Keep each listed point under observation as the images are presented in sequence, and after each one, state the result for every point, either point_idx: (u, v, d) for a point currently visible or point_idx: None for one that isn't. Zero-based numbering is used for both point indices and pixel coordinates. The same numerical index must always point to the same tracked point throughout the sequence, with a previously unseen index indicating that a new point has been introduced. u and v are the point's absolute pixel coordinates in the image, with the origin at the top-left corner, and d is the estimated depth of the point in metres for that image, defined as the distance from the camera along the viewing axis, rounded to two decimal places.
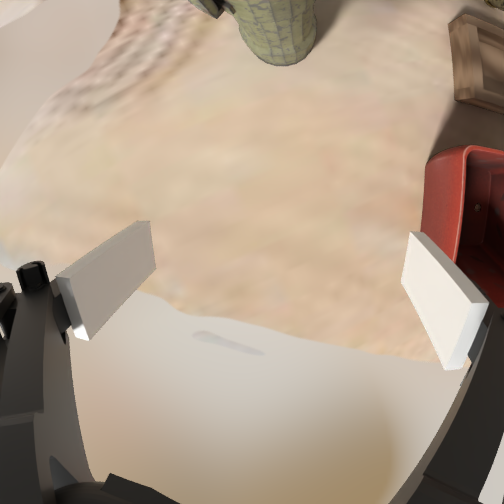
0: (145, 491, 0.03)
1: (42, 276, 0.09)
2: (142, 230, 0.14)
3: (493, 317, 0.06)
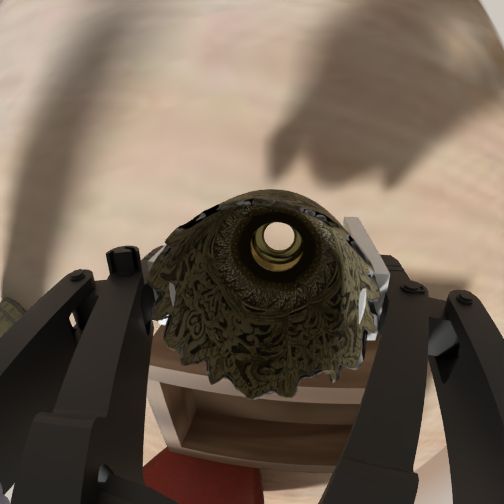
0: (145, 491, 0.03)
1: (135, 262, 0.10)
2: None
3: (392, 291, 0.08)
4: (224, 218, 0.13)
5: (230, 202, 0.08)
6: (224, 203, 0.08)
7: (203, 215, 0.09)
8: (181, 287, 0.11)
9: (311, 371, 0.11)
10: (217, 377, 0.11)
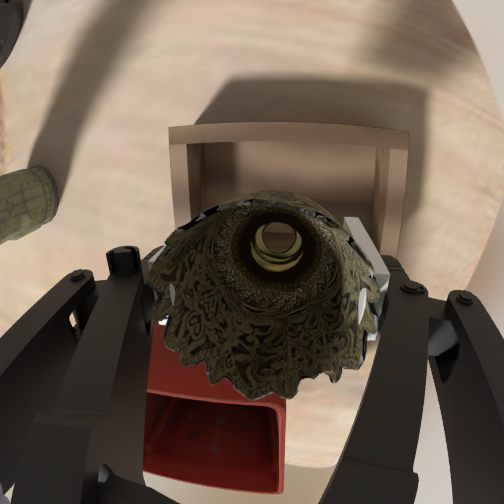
0: (145, 491, 0.03)
1: (135, 262, 0.10)
2: None
3: (392, 291, 0.08)
4: (224, 218, 0.13)
5: (230, 203, 0.08)
6: (224, 204, 0.08)
7: (203, 216, 0.09)
8: (181, 287, 0.11)
9: (311, 372, 0.11)
10: (217, 378, 0.11)
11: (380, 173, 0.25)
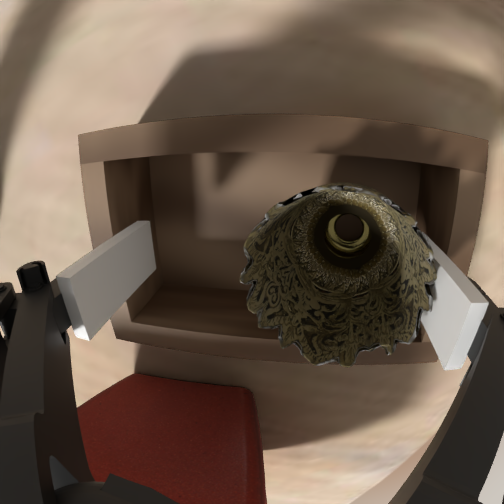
0: (145, 491, 0.03)
1: (42, 276, 0.09)
2: (142, 230, 0.14)
3: (493, 317, 0.06)
4: (306, 204, 0.15)
5: (326, 186, 0.09)
6: (321, 186, 0.09)
7: (300, 195, 0.10)
8: (265, 259, 0.13)
9: (369, 345, 0.12)
10: (287, 342, 0.13)
11: (432, 206, 0.14)
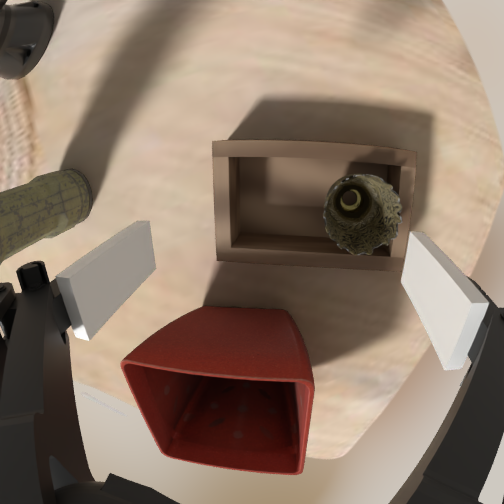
0: (145, 491, 0.03)
1: (42, 276, 0.09)
2: (142, 230, 0.14)
3: (493, 317, 0.06)
4: None
5: (361, 174, 0.24)
6: (358, 174, 0.24)
7: (348, 178, 0.25)
8: None
9: (377, 244, 0.27)
10: (342, 246, 0.27)
11: None
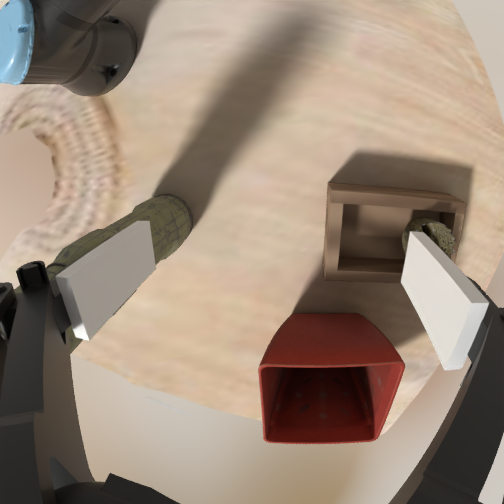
0: (145, 491, 0.03)
1: (42, 276, 0.09)
2: (142, 230, 0.14)
3: (493, 317, 0.06)
4: (409, 224, 0.39)
5: (433, 222, 0.33)
6: (432, 222, 0.33)
7: (424, 224, 0.34)
8: (406, 243, 0.37)
9: None
10: None
11: (445, 224, 0.38)
